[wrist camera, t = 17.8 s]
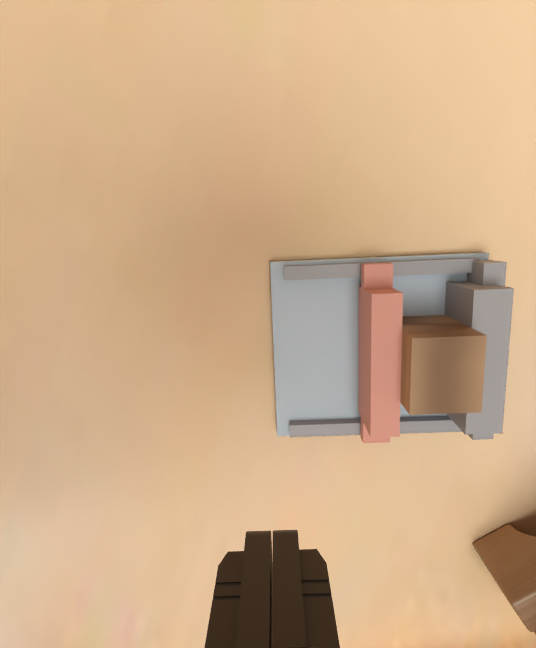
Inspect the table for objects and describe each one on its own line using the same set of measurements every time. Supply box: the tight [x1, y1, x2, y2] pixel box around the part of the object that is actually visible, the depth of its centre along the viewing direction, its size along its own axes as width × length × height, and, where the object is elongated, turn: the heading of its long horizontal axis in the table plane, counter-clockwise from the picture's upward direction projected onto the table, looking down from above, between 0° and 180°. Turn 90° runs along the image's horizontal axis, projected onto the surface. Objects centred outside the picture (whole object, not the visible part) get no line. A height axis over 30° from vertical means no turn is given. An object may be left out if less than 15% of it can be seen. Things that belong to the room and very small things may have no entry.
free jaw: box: [358, 263, 403, 443], centre depth 30 cm, size 2×13×4 cm, turn 3°
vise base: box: [270, 252, 514, 440], centre depth 31 cm, size 16×14×6 cm
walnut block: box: [400, 315, 487, 415], centre depth 29 cm, size 4×5×6 cm
